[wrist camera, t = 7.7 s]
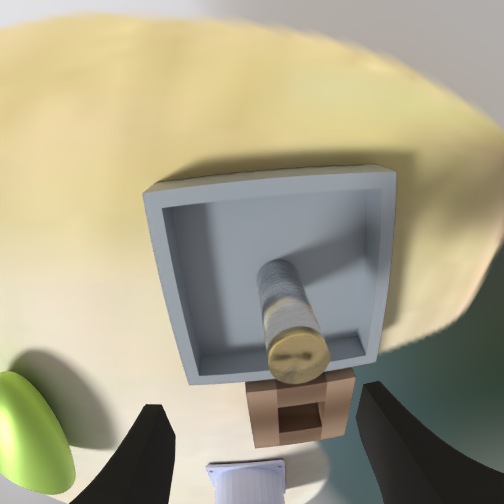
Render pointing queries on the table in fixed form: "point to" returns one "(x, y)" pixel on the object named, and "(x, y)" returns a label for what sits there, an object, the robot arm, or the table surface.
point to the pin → (290, 325)
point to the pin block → (300, 408)
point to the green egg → (32, 439)
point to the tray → (267, 249)
